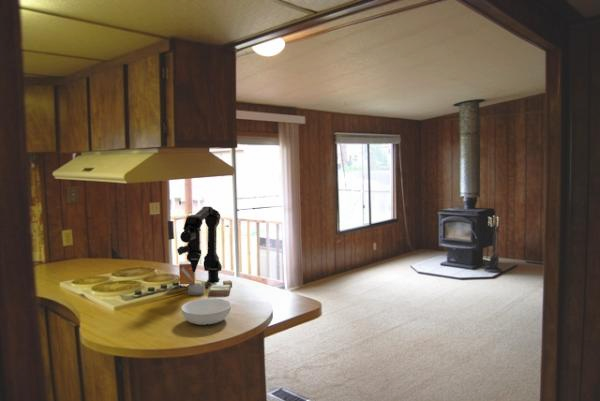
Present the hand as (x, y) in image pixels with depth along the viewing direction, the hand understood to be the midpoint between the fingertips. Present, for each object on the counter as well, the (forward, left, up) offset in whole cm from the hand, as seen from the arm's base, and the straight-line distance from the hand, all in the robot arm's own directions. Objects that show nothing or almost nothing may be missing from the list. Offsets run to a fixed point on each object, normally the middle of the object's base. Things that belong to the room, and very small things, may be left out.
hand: (194, 270), depth 239 cm
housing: (0, +1, -12) cm, 12 cm away
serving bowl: (+43, +11, -13) cm, 46 cm away
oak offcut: (-11, +16, -12) cm, 23 cm away
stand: (+1, +13, -12) cm, 18 cm away
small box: (-15, -6, -12) cm, 21 cm away
